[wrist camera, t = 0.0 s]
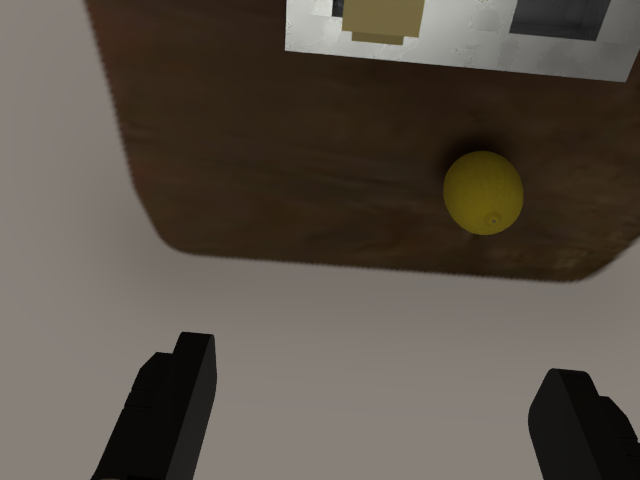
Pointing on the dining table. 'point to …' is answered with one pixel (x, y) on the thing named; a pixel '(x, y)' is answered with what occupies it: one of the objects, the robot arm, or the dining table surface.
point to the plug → (382, 20)
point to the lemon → (483, 192)
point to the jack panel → (490, 35)
